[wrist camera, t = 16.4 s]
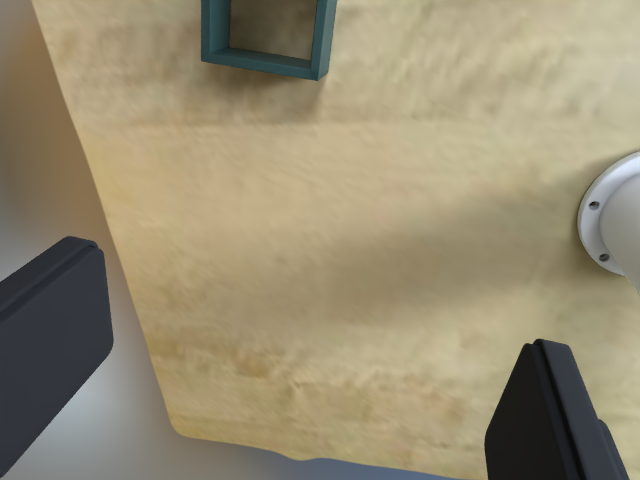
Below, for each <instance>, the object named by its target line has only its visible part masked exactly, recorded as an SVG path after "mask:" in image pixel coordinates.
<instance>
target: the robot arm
mask: <svg viewBox="0 0 640 480" xmlns="http://www.w3.org/2000/svg"><path fill="white" fill-rule="evenodd" d="M593 201H594V203H593V204H590V203H591V202H593ZM577 227H578V232H579V237H580V239H581V241H582V243H583V245H584V248H585V249H586V251H587V252H588V253H589V255H590V256H591V257H592V258H593V260H594V261H595V262H596V263H598V264H599V265H601V266H602V267H604V268H605V269H607V270H609V271H611V272H614V273H616V274H619V275H622V276H626V277H627V278H628V280H629V281H630V283H631V284H632V286H633V287H634V288H635V290H636V291H637V293H638V294H639V296H640V151H638V152H635V153H633V154H631V155H629V156H627V157H625V158H623V159H621V160H619V161H617V162H616V163H614V164H613V165H612V166H610V167H609V168H607V169H606V170H605V171H604V172H603V173H602V174H601V175H600V176H599V177H598V178H596V179H595V181H594V182H593V183H592V185H591V186H590V187H589V189H588V190H587V191H586V193H585V196H584V198H583V200H582V202H581V204H580V208H579V212H578V223H577ZM112 346H113V331H112V323H111V313H110V304H109V295H108V287H107V278H106V268H105V259H104V253H103V251H102V250H101V249H99V248H98V246H97V244H96V243H95V242H94V241H90V240H86V239H81V238H77V237H72V236H68V237H65V238H63V239H62V240H60V241H59V242H57V243H56V244H55V245H53V246H52V247H50V248H49V249H47V250H46V251H45V252H43V253H42V254H40V255H39V256H37V257H36V258H34V259H33V260H31V261H30V262H29V263H27V264H26V265H24V266H23V267H22V268H20V269H18V270H17V271H16V272H14V273H13V274H11V275H10V276H9V277H7V278H6V279H4V280H3V281H1V282H0V478H1V477H3V476H4V475H5V474H6V473H7V472H8V471H9V469H10V468H11V467H12V466H13V465H14V464H15V463H16V461H17V460H18V459H19V458H20V457H21V456H22V454H23V453H24V452H25V451H26V450H27V448H29V446H30V445H31V444H32V443H33V442H34V441H35V439H36V438H37V437H38V436H39V435H40V433H42V431H43V430H44V429H45V428H46V427H47V426H48V424H49V423H50V422H51V421H52V420H53V419H54V417H55V416H56V415H57V414H58V413H59V412H60V411H61V409H62V408H63V407H64V406H65V405H66V404H67V402H68V401H69V400H70V399H71V398H72V397H73V395H74V394H75V393H76V392H77V391H78V390H79V389H80V387H81V386H82V385H83V384H84V383H85V382H86V381H87V379H88V378H89V377H90V376H91V375H92V374H93V372H94V371H95V370H96V369H97V368H98V367H99V366H100V364H101V363H102V362H103V361H104V360H105V359H106V357H107V356H108V355H109V353H110V351H111V349H112ZM484 446H485V456H486V464H487V473H488V480H630V479H629V477H628V475H627V472H626V470H625V467H624V465H623V462H622V460H621V457H620V455H619V453H618V450H617V448H616V445H615V443H614V440H613V438H612V435H611V433H610V431H609V429H608V427H607V425H606V424H605V423H604V422H603V421H602V420H600V419H598V418H597V415H596V413H595V410H594V408H593V405H592V403H591V400H590V397H589V395H588V392H587V390H586V387H585V385H584V382H583V380H582V377H581V375H580V372H579V369H578V367H577V364H576V362H575V359H574V357H573V354H572V352H571V349H570V347H569V346H568V345H566V344H562V343H557V342H553V341H548V340H544V339H536V340H535V341H534V343H533V344H529V343H526V344H525V345H524V346H523V348H522V350H521V352H520V355H519V357H518V359H517V362H516V364H515V366H514V369H513V371H512V373H511V375H510V378H509V380H508V382H507V385H506V387H505V389H504V392H503V394H502V396H501V399H500V401H499V403H498V406H497V408H496V410H495V413H494V415H493V417H492V419H491V422H490V424H489V426H488V429H487V431H486V435H485V444H484Z"/></svg>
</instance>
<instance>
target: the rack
mask: <svg viewBox="0 0 640 480" xmlns="http://www.w3.org/2000/svg"><path fill="white" fill-rule="evenodd" d="M336 4H337V0H317V8H316V17H315V27H314V36H313V45H312V54H311V60H306V59H300V58H294V57H288V56H281V55H275V54H269V53H263V52H257V51H251V50H245V49H239V48H233V47H229V40H230V6H231V0H201V61H202V62H208V63H214V64H220V65H226V66H232V67H238V68H244V69H250V70H256V71H262V72H268V73H274V74H280V75H286V76H291V77H297V78H303V79H309V80H315V81H318V80H319V79H321V78H322V77H323V76H324V75H325V74H326V73H328V68H329V60H330V52H331V44H332V36H333V28H334V20H335V12H336Z"/></svg>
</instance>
